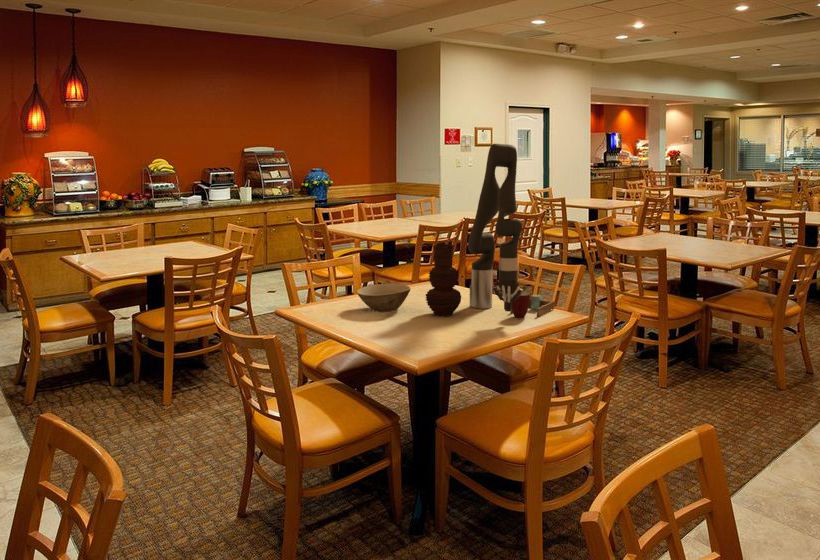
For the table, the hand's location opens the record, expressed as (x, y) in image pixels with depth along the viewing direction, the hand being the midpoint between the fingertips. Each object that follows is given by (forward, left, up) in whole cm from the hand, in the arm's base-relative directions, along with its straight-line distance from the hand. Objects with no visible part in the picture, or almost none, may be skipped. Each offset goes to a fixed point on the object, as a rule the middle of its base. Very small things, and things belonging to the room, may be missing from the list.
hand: (508, 310), depth 277 cm
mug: (0, +12, -6) cm, 13 cm away
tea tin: (-1, +31, -5) cm, 31 cm away
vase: (-30, 0, -6) cm, 31 cm away
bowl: (-57, -6, -6) cm, 58 cm away
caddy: (0, +26, -5) cm, 26 cm away
